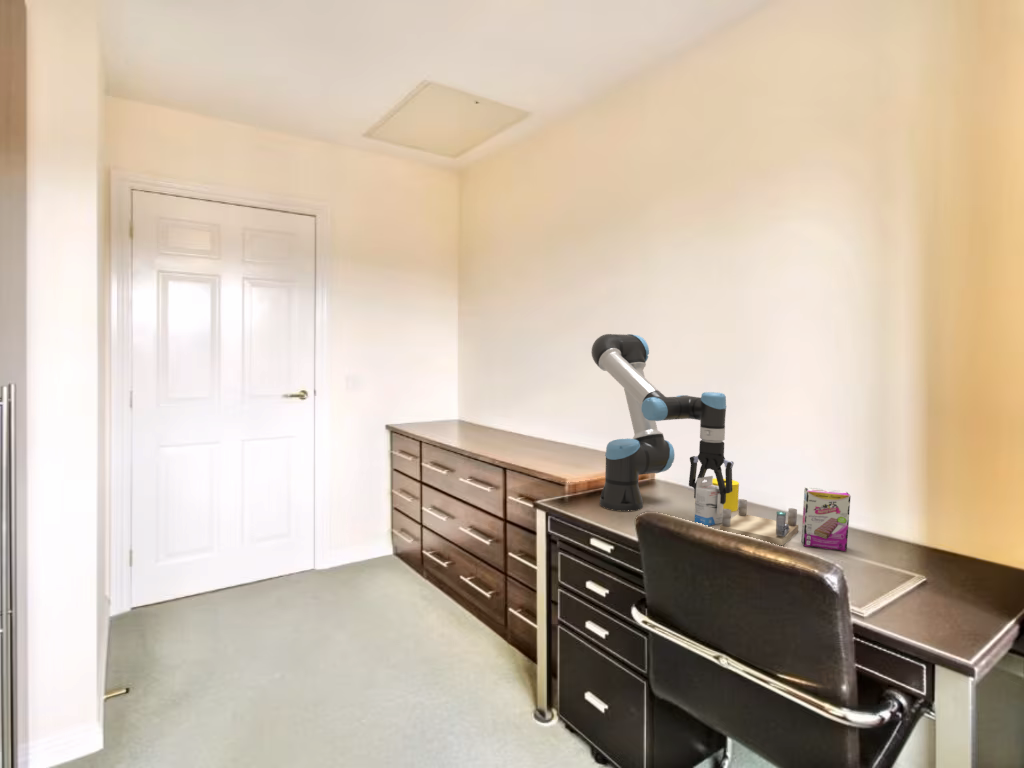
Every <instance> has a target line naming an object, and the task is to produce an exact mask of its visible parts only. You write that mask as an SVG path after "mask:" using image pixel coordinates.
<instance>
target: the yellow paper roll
mask: <svg viewBox="0 0 1024 768" xmlns="http://www.w3.org/2000/svg"><path fill="white" fill-rule="evenodd" d="M723 479H724V483H725V487H726V478H723ZM712 485H716V486H718V482H717V479H716V477H715V478H714V477H713V481H712ZM739 486H740V482H739V481H737V480H735V479H732V492H730V493H726V502H725V504H723V509H730V510H731V513H732V512H737V511H739V493H740V492H739V489H740V488H739Z"/></svg>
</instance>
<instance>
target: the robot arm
mask: <svg viewBox="0 0 1024 768" xmlns="http://www.w3.org/2000/svg"><path fill="white" fill-rule="evenodd" d="M649 354H650V348H649V345H648V343H647V341H646V340H645V339H644V338H643V337H642V336H640V335H635V334H632V333H631V334H629V333H627V334H621V333H619V334H616V333H615V334H614V333H606V334H602V335H600V336H599V337H597V338H596V340H595V341H594V342H593V344H592V346H591V357H592V360H593V362H594V363H595V364H596V365H597V367H598V368H599V369H600V370H601V371H605V372H607V373H608V374H609V375H610V376H611V377H612V378H614V380H615V381H616V382H617V383H619V385H620V386H621V387H622V388H623V390H624V393H625V394H624V395H625V398H626V403H627V407H628V413H629V416H630V419H631V425H632V428H633V434H634V435H633V437H632V438H618V439H613V440H611V441H609V442H608V443H607V444H606V449H605V455H604V456H605V475H604V476H605V477H604V480H605V481H604V486H603V489H602V490H601V494H600V497H599V505H600V506H601V507H602V508H604V507H605V509H607V508H608V509H607V510H611V509H613V510H612V511H617V510H621V511H620V512H632V511H631V510H635V511H639V510H641V509H642V508H643V507H644V506H643V504H644V502H643V501H644V500H643V497H642V494H641V490H640V487H639V477H640V476H641V475H648V474H659V473H664V472H667V471H668V470H670V468H671V467H672V465H673V463H674V461H675V448H674V446H673V445H672V443H670V441H668V440H666V439H665V437H664V433H663V432H661V431H660V430H659V429H658V427H657V422H661V421H670V420H696V421H700V423H699V424H700V425H699V438H700V440H699V448H698V449H699V450H698V451H699V453H698V455H696V456H695V455H692V456H690V457H689V462H690V468H689V478H688V486H689V487H691V488H693V493H694V494H693V495H694V496H693V497H694V499H695V497H696V483H697V478H702V477H706V472H707V471H708V470H712V471H713V474H714V475H715V478H716V479H717V482H718V486H719V490H720V493H718V498H717V514H721V513H722V507H723V504H725V502H726V493H730V492H732V480H733V466H734V464H735V463H734V461H732V460H731V461H729V460H727V459H726V458H725V442H724V441H725V439H726V438H725V437H726V436H725V435H726V416H727V415H726V413H727V399H726V398H727V397H726V394H725V393H723V392H714V391H713V392H712V391H709V392H707V391H705V392H702V393H701V397H699V396H698V397H697V396H691V395H683V394H682V395H676V396H665V394H663V393H662V392H661V391H660V390H658V389H657V388H656V387H655V385H653V384H652V383H651V382H650V381H649V380H648V379H647V378H646V376H645V373H644V369H645V367H646V366H647V363H646V362H647V361H648V359H649ZM699 462H700V464H701V466H700V468H699V473H698V475H697V471H698V470H697V469H698V463H699ZM723 465H724V468H725V470H724V471H725V478H724V476H723V472H722V467H721V466H723ZM724 479H726V487H725V483H724ZM638 509H639V510H638ZM628 510H629V511H628Z"/></svg>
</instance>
